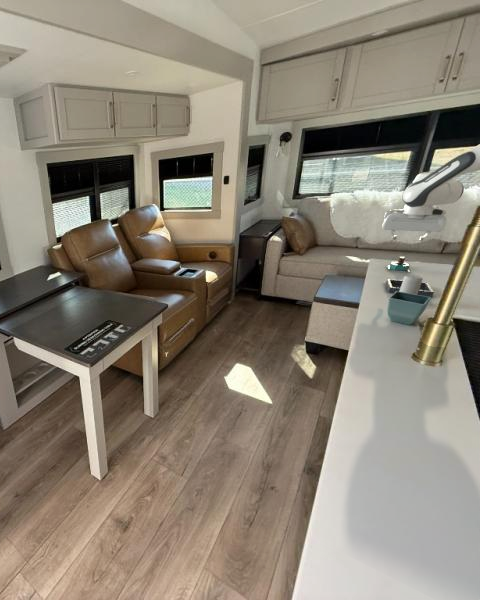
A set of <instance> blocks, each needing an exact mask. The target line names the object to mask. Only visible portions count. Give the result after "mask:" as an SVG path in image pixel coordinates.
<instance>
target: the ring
mask: <svg viewBox="0 0 480 600" xmlns="http://www.w3.org/2000/svg"><path fill="white" fill-rule="evenodd" d="M397 263H398V261H392V262H390V264H389V266H390V269H393V270H392V271H394V270H399V271H398V272H406V270H408V269H409V270H410V264H409V263H407V262H404V263H403V265H397Z"/></svg>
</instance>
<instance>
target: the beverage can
mask: <svg viewBox="0 0 480 600" xmlns="http://www.w3.org/2000/svg"><path fill="white" fill-rule="evenodd" d="M423 278H424V277H423V276H421V275H418V274H405V275H404V277H403V279H402V280H403V282H402V285H401V288H400V291H399V292H404V293H410V294H416V295H417V293H418V291H419V288H420V285H421V283H422V282H423Z"/></svg>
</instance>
